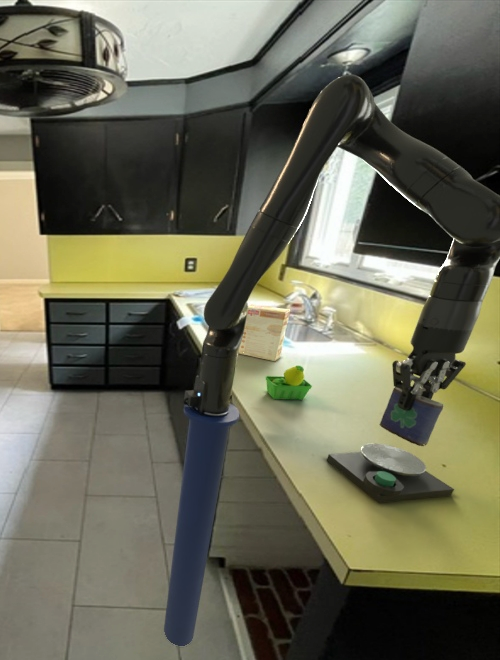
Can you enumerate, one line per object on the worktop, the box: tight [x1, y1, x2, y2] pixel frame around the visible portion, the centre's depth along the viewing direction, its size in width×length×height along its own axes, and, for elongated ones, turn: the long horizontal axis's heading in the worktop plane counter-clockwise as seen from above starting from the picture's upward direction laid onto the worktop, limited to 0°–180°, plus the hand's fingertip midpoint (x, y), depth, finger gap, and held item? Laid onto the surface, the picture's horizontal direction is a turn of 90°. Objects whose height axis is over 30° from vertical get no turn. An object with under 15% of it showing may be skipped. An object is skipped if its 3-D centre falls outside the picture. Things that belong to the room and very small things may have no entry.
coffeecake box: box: [238, 304, 291, 362], centre depth 144 cm, size 15×7×20 cm, turn 49°
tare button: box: [374, 471, 396, 487], centre depth 70 cm, size 3×3×2 cm
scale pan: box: [360, 442, 427, 476], centre depth 77 cm, size 11×11×1 cm
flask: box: [379, 387, 444, 447], centre depth 72 cm, size 9×3×11 cm, turn 12°
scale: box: [326, 451, 455, 504], centre depth 76 cm, size 16×14×3 cm
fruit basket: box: [265, 365, 313, 401], centre depth 110 cm, size 11×9×11 cm
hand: (411, 408), depth 72 cm, fingers closed on flask, 3 cm apart
